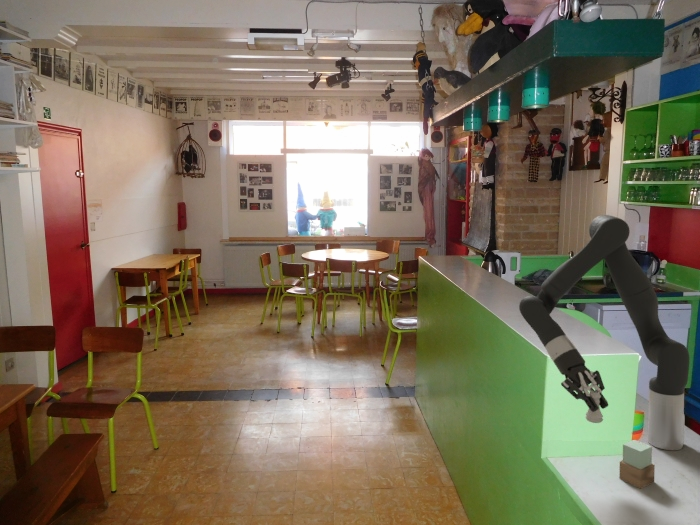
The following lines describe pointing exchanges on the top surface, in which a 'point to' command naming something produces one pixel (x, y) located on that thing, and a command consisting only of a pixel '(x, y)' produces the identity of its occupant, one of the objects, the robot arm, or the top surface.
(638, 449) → the sage top block
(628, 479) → the walnut base block
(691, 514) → the top surface
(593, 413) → the rook chess piece
